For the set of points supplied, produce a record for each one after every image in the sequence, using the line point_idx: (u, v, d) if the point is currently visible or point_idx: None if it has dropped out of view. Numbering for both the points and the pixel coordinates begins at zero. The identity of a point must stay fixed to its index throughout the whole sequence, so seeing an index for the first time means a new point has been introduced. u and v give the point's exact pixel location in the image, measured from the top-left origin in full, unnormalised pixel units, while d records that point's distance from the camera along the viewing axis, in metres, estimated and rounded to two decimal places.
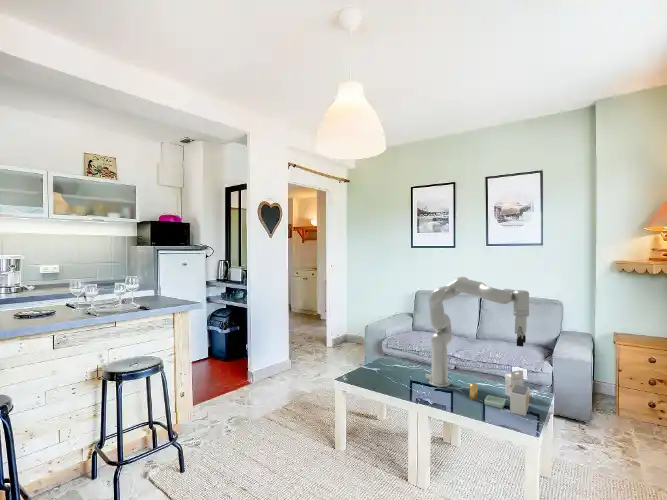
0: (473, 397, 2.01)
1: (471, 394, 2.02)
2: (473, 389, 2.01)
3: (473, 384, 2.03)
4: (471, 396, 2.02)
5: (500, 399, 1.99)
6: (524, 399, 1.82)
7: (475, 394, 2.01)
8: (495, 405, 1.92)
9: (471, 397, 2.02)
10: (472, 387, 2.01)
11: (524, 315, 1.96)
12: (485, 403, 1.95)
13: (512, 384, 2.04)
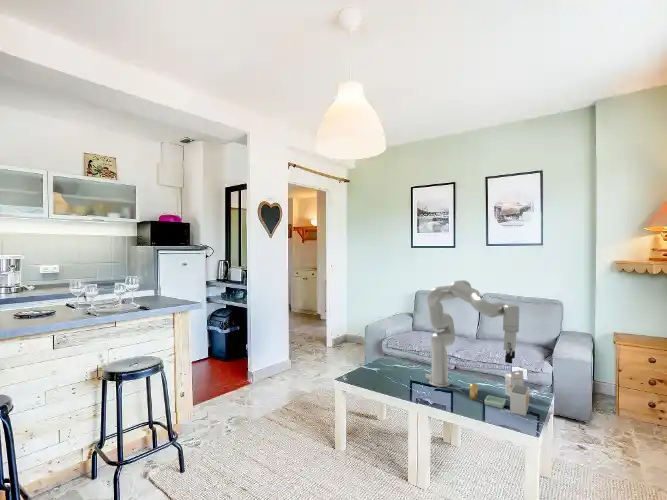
0: (473, 397, 2.01)
1: (471, 394, 2.02)
2: (473, 389, 2.01)
3: (473, 384, 2.03)
4: (471, 396, 2.02)
5: (500, 399, 1.99)
6: (524, 399, 1.82)
7: (475, 394, 2.01)
8: (495, 405, 1.92)
9: (471, 397, 2.02)
10: (472, 387, 2.01)
11: (514, 331, 1.88)
12: (485, 403, 1.95)
13: (512, 384, 2.04)
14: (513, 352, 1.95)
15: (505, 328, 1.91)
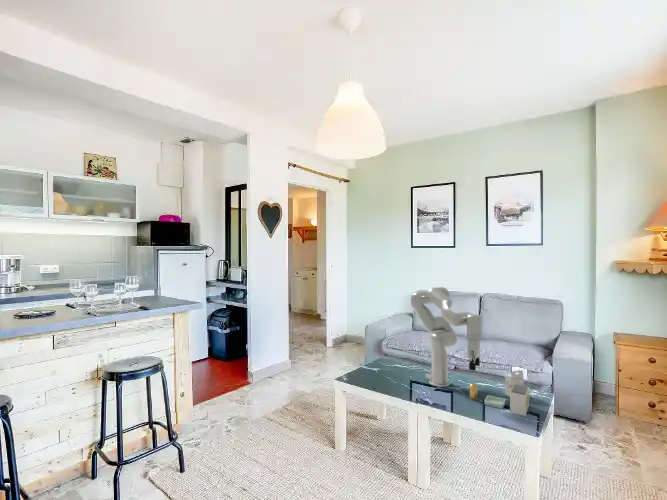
0: (473, 397, 2.01)
1: (471, 394, 2.02)
2: (473, 389, 2.01)
3: (473, 384, 2.03)
4: (471, 396, 2.02)
5: (500, 399, 1.99)
6: (524, 399, 1.82)
7: (475, 394, 2.01)
8: (495, 405, 1.92)
9: (471, 397, 2.02)
10: (472, 387, 2.01)
11: (476, 339, 1.99)
12: (485, 403, 1.95)
13: (512, 384, 2.04)
14: (478, 360, 2.05)
15: (468, 337, 2.01)
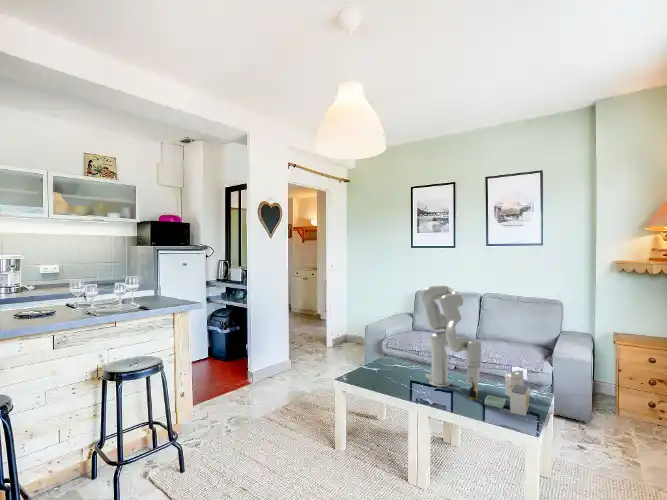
0: None
1: None
2: None
3: (473, 384, 2.03)
4: None
5: (500, 399, 1.99)
6: (524, 399, 1.82)
7: None
8: (495, 405, 1.92)
9: (471, 397, 2.02)
10: None
11: (476, 366, 1.99)
12: (485, 403, 1.95)
13: (512, 384, 2.04)
14: None
15: (468, 363, 2.01)
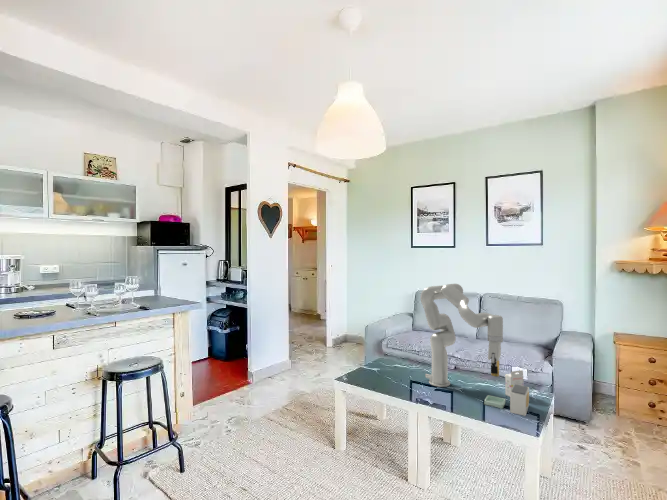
0: None
1: None
2: None
3: None
4: None
5: (500, 399, 1.99)
6: (524, 399, 1.82)
7: None
8: (495, 405, 1.92)
9: None
10: None
11: (497, 341, 1.93)
12: (485, 403, 1.95)
13: (512, 384, 2.04)
14: None
15: (489, 338, 1.95)
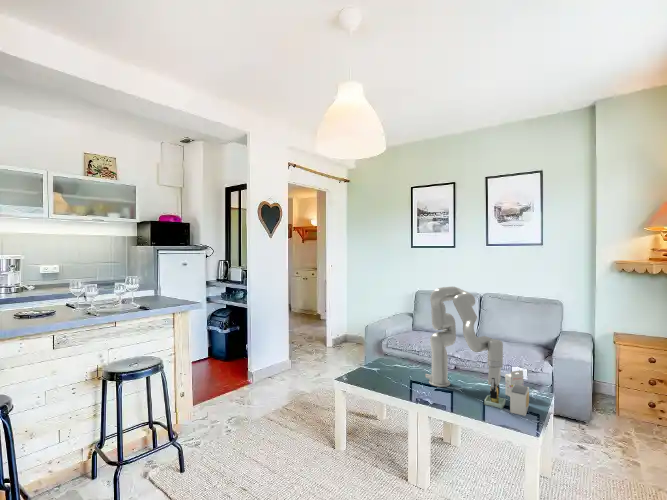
0: (494, 401, 1.95)
1: None
2: None
3: None
4: (492, 400, 1.96)
5: (500, 399, 1.99)
6: (524, 399, 1.82)
7: None
8: (495, 405, 1.92)
9: (492, 401, 1.95)
10: None
11: (497, 366, 1.93)
12: (485, 403, 1.95)
13: (512, 384, 2.04)
14: (498, 388, 1.99)
15: (489, 363, 1.95)
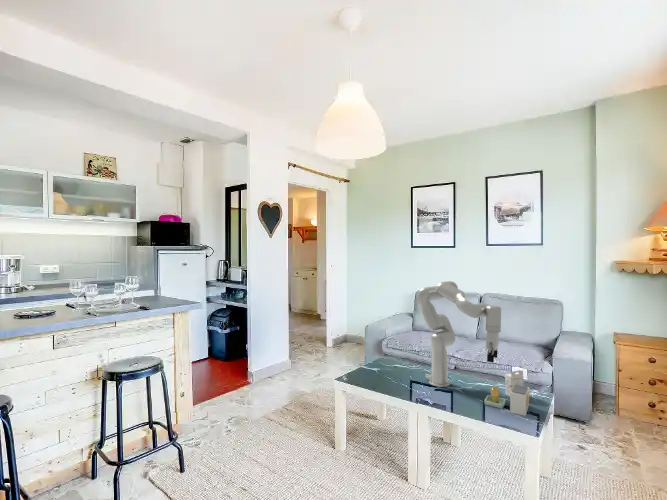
0: (495, 401, 1.95)
1: (492, 398, 1.95)
2: (494, 393, 1.95)
3: (494, 387, 1.96)
4: (492, 400, 1.95)
5: (500, 399, 1.99)
6: (524, 399, 1.82)
7: (497, 398, 1.95)
8: (495, 405, 1.92)
9: (492, 401, 1.95)
10: (493, 390, 1.95)
11: (495, 331, 1.95)
12: (485, 403, 1.95)
13: (512, 384, 2.04)
14: (496, 351, 2.02)
15: (487, 328, 1.97)
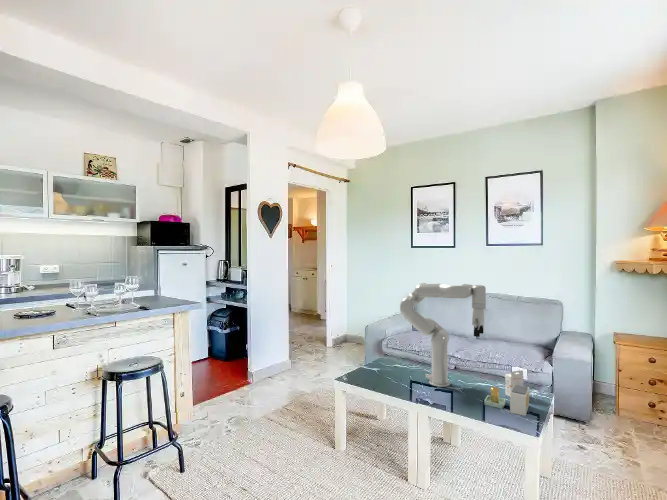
0: (495, 401, 1.95)
1: (492, 398, 1.95)
2: (494, 393, 1.95)
3: (494, 387, 1.96)
4: (492, 400, 1.95)
5: (500, 399, 1.99)
6: (524, 399, 1.82)
7: (497, 398, 1.95)
8: (495, 405, 1.92)
9: (492, 401, 1.95)
10: (493, 390, 1.95)
11: (480, 308, 2.12)
12: (485, 403, 1.95)
13: (512, 384, 2.04)
14: (482, 328, 2.19)
15: (473, 306, 2.15)
